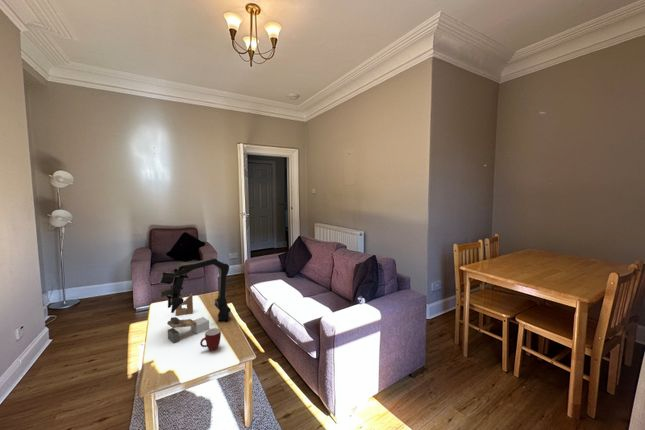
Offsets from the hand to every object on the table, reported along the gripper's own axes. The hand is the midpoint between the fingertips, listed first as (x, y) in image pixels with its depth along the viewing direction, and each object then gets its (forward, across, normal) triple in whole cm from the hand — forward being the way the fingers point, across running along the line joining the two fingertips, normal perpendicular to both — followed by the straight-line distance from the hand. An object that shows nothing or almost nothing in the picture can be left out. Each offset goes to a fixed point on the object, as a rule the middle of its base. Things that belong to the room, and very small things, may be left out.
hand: (170, 310), depth 162 cm
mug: (+12, +30, +18) cm, 37 cm away
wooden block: (+12, -27, +18) cm, 34 cm away
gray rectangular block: (+13, +4, +13) cm, 19 cm away
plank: (+7, +5, +7) cm, 11 cm away
